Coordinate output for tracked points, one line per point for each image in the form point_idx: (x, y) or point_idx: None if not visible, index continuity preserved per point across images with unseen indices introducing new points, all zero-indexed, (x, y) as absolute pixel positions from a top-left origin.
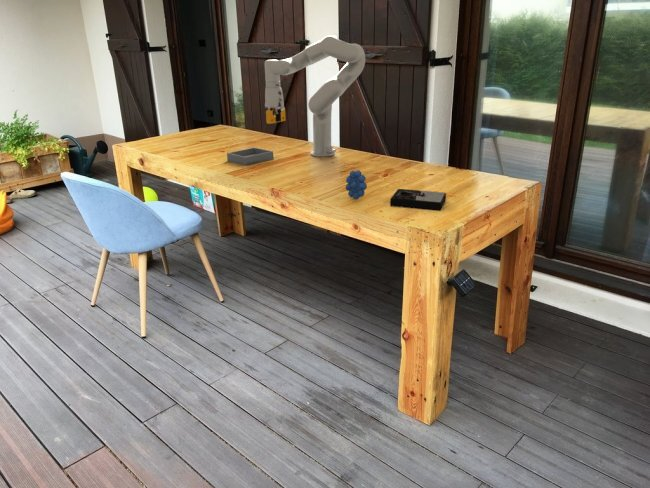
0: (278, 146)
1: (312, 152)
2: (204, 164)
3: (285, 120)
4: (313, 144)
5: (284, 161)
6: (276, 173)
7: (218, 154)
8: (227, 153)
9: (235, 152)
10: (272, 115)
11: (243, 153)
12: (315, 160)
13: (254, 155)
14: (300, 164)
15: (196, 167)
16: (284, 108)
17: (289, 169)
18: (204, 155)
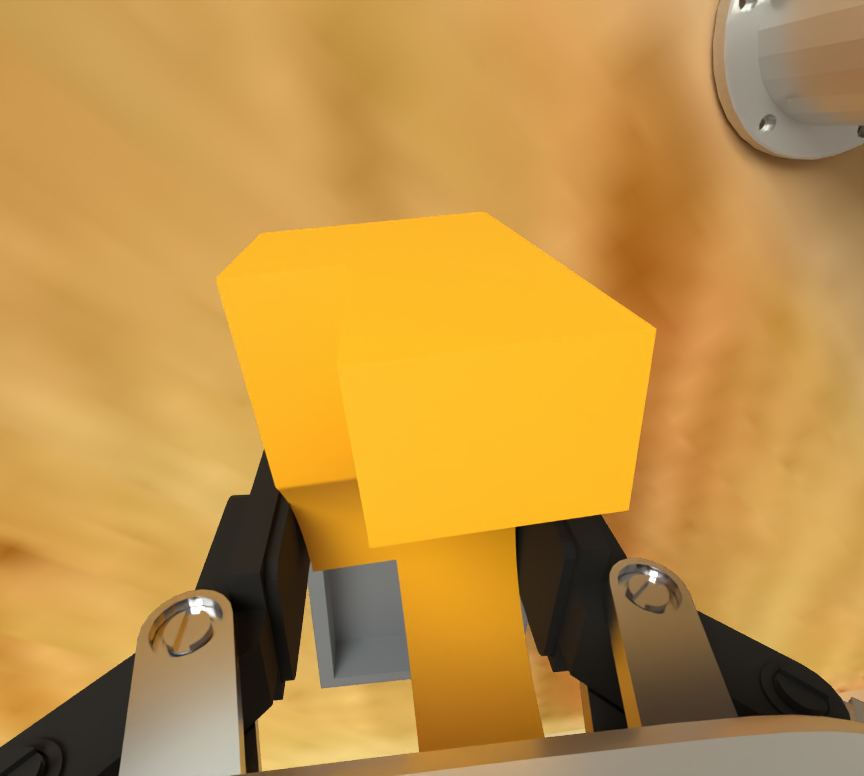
0: (109, 18)
1: (760, 107)
2: (302, 726)
3: (484, 216)
4: (852, 98)
5: (645, 435)
6: (748, 598)
7: (95, 606)
8: (328, 686)
9: (331, 641)
10: (532, 709)
11: (327, 574)
12: (850, 266)
13: (526, 616)
14: (788, 417)
15: (330, 759)
16: (643, 374)
17: (775, 523)
18: (65, 667)
